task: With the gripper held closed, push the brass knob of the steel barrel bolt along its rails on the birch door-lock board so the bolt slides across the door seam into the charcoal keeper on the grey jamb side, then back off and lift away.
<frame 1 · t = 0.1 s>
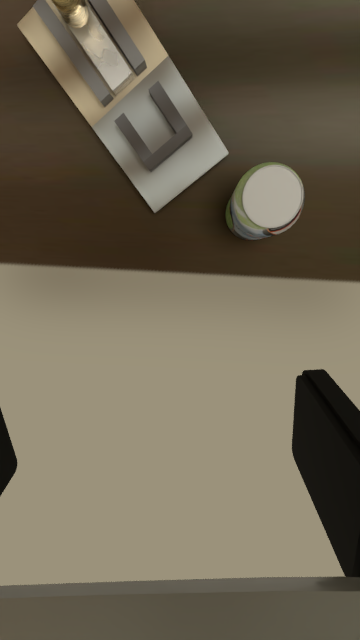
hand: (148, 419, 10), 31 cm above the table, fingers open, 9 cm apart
beverage can: (248, 207, 37), on the table
lock board: (131, 98, 33), on the table
bolt: (88, 30, 27), point 5 cm above the table, slide at 0.0 cm
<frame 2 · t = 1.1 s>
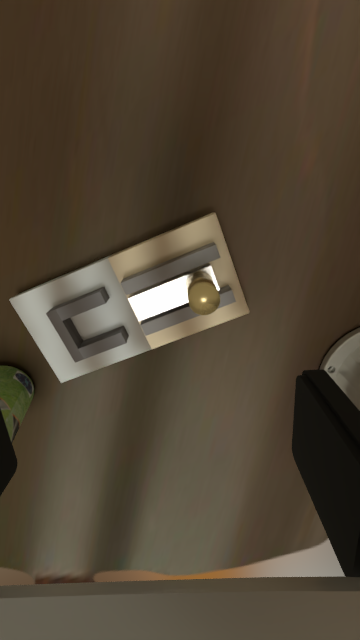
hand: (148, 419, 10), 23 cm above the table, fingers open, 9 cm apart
beverage can: (17, 383, 36), on the table
lock board: (133, 300, 32), on the table
bolt: (173, 299, 27), point 5 cm above the table, slide at 0.0 cm
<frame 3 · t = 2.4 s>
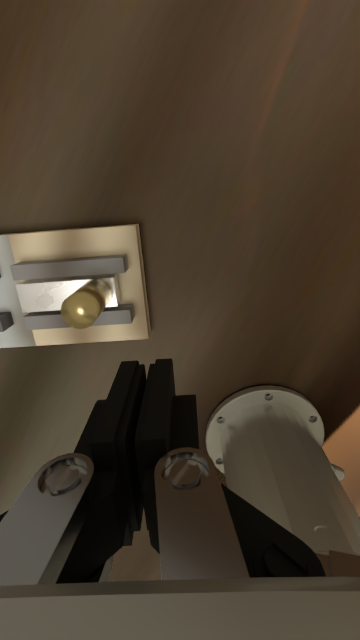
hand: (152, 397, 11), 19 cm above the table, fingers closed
lock board: (33, 288, 29), on the table
bolt: (59, 301, 24), point 5 cm above the table, slide at 0.0 cm
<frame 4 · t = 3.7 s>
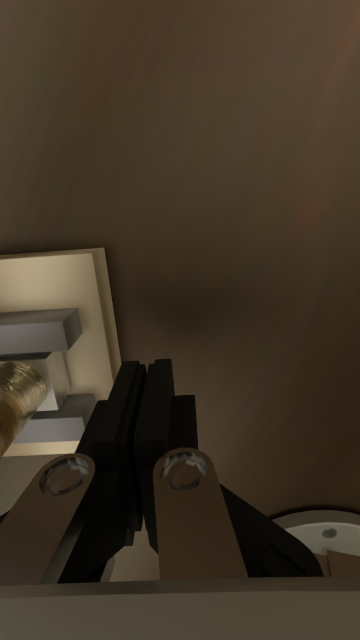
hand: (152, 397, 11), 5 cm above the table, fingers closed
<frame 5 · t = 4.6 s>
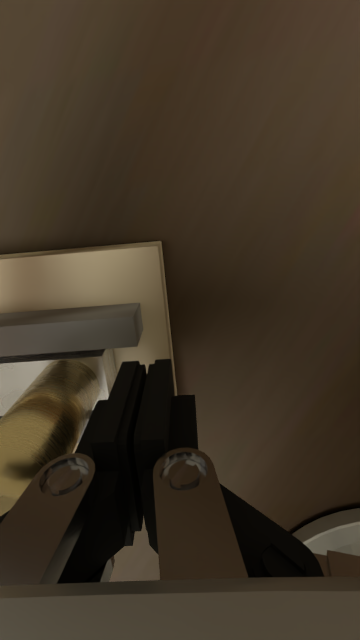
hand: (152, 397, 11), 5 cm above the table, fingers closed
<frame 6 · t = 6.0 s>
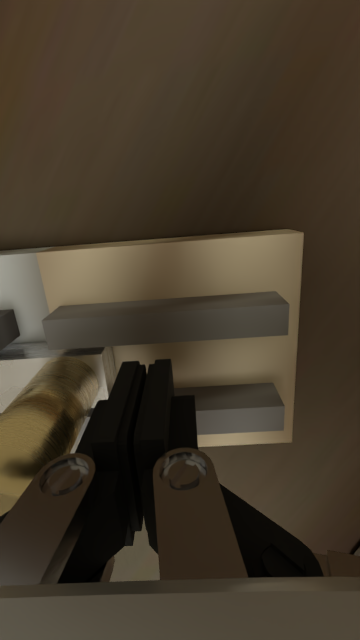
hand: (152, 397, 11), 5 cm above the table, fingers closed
lock board: (75, 346, 16), on the table
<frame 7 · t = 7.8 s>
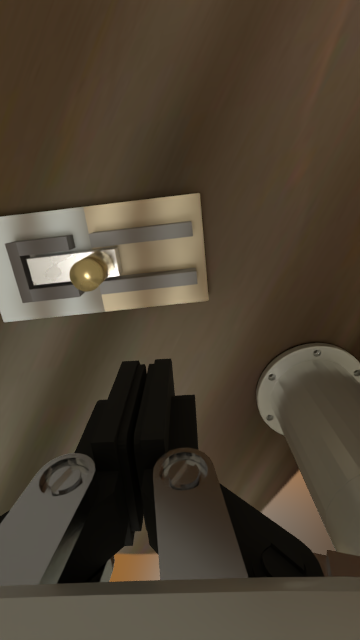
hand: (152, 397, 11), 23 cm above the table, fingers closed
lock board: (99, 258, 32), on the table
bolt: (67, 271, 27), point 5 cm above the table, slide at 6.0 cm
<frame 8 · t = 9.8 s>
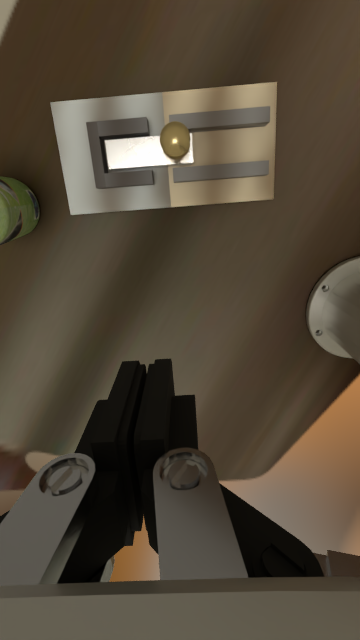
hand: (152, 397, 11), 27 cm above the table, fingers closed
beverage can: (22, 209, 35), on the table
lock board: (167, 155, 33), on the table
bolt: (147, 148, 28), point 5 cm above the table, slide at 6.0 cm
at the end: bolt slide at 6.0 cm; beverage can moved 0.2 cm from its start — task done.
